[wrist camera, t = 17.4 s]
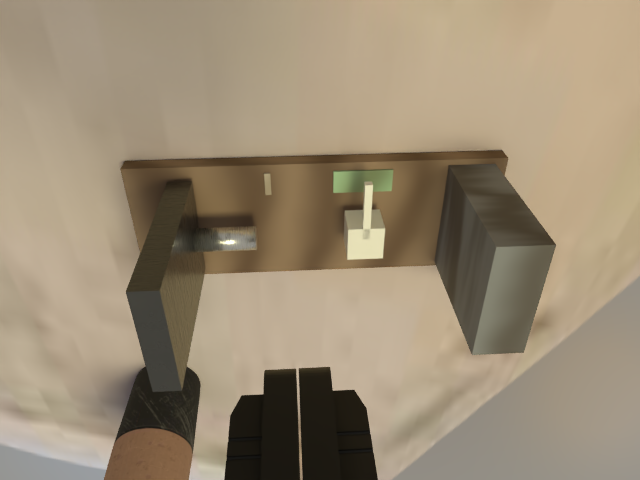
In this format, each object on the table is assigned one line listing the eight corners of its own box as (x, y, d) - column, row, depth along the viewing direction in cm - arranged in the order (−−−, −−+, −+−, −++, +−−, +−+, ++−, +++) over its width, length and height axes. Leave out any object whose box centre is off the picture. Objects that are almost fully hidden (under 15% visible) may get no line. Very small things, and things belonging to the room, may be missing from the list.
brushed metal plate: (183, 269, 48) (152, 392, 37) (167, 181, 43) (125, 291, 32) (260, 266, 49) (254, 387, 37) (253, 179, 44) (243, 287, 32)
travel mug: (130, 358, 57) (69, 553, 41) (203, 361, 58) (172, 553, 42) (135, 404, 61) (82, 598, 45) (203, 406, 62) (175, 597, 46)
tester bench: (149, 266, 50) (111, 376, 39) (124, 161, 44) (72, 256, 33) (480, 254, 52) (534, 356, 41) (502, 150, 46) (572, 238, 35)
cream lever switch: (343, 239, 47) (347, 259, 45) (345, 168, 43) (349, 185, 41) (377, 238, 47) (382, 258, 45) (382, 167, 43) (388, 184, 41)
